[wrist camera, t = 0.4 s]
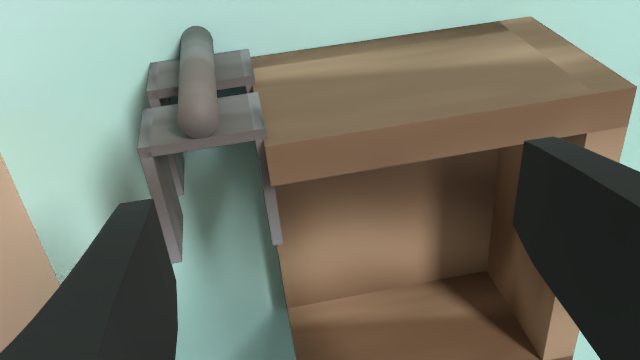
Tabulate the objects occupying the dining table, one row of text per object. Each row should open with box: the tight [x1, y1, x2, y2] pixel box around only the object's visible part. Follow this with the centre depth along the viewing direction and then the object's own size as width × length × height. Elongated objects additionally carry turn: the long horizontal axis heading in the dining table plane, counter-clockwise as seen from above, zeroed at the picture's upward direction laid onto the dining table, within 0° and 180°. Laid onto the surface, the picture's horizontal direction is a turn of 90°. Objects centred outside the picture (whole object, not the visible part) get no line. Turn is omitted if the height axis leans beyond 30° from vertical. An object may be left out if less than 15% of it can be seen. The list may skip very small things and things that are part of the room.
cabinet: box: [137, 17, 637, 360], centre depth 21 cm, size 13×13×6 cm
